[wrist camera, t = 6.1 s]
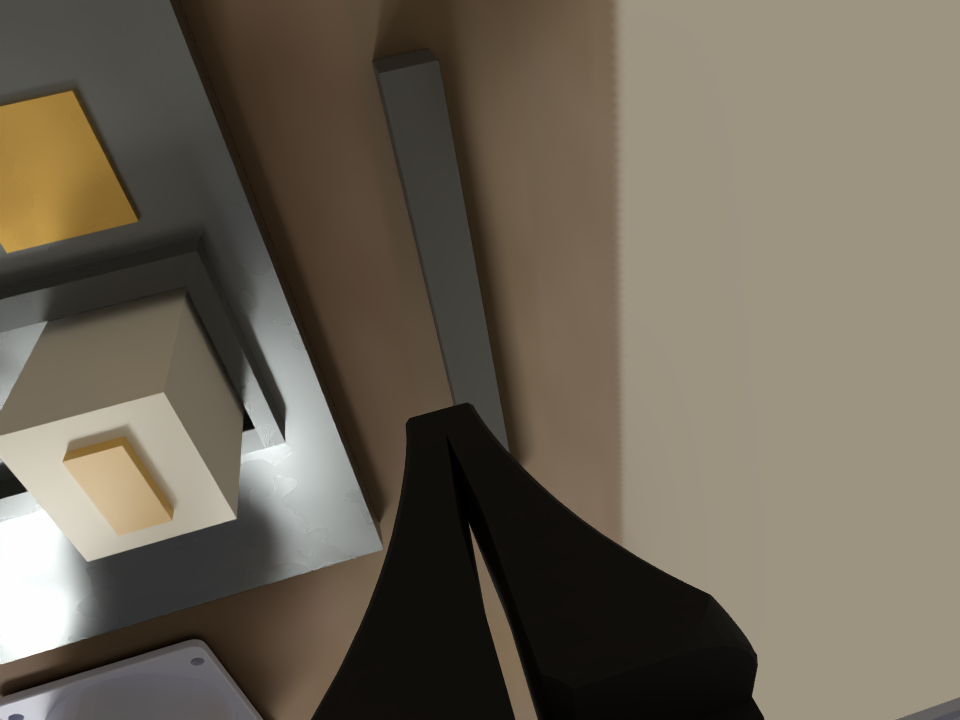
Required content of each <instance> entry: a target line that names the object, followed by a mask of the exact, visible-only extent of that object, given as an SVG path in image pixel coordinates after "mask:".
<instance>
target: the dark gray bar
mask: <svg viewBox="0 0 960 720" xmlns="http://www.w3.org/2000/svg"><path fill="white" fill-rule="evenodd" d="M372 62H373V66H374V71H375V75H376V79H377V83H378V87H379V92H380V96H381V100H382V104H383V108H384V113H385V117H386V121H387V125H388V130H389V134H390V138H391V142H392V146H393V151H394V155H395V159H396V163H397V167H398V172H399V176H400V180H401V184H402V188H403V193H404V197H405V201H406V205H407V210H408V214H409V218H410V222H411V226H412V231H413V235H414V239H415V243H416V247H417V252H418V256H419V260H420V264H421V268H422V273H423V277H424V281H425V285H426V290H427V294H428V298H429V302H430V306H431V311H432V315H433V319H434V323H435V327H436V332H437V336H438V340H439V344H440V348H441V353H442V357H443V361H444V365H445V370H446V374H447V378H448V382H449V386H450V391H451V395H452V399H453V403H454V406H455V405H459V404H462V403H466V402H468V403H470V404H472V405H474V407H475V409H476V411H477V413H478V414H479V416H480V417H481V419H482V420H483V421H484V423H485V424H486V426H487V427H488V428H489V430H490V431H491V432H492V433H493V435H494V436H495V437H496V438H497V439H498V441H499V442H500V443H501V444H502V445H503V447H504V448H505V449H506V450H507V451H508V452H509V447H508V441H507V436H506V430H505V424H504V419H503V413H502V408H501V402H500V397H499V391H498V386H497V380H496V375H495V369H494V364H493V358H492V353H491V347H490V341H489V336H488V330H487V325H486V319H485V314H484V308H483V303H482V297H481V292H480V286H479V281H478V275H477V270H476V264H475V258H474V253H473V247H472V242H471V236H470V231H469V225H468V220H467V214H466V209H465V203H464V198H463V192H462V187H461V181H460V175H459V170H458V164H457V159H456V153H455V148H454V142H453V137H452V131H451V126H450V120H449V115H448V109H447V104H446V98H445V92H444V87H443V81H442V76H441V70H440V65H439V60H438V59H437V58H436V57H435V55H434V54H433V53H432V52H431V51H430V50H429V49H428V48H426V49H421V50H417V51H413V52H408V53H404V54H399V55H395V56H390V57H386V58H382V59H377V60H373V61H372ZM509 453H510V452H509Z"/></svg>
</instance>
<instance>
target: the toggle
mask: <svg viewBox="0 0 960 720" xmlns="http://www.w3.org/2000/svg"><path fill="white" fill-rule="evenodd" d="M243 417H244V404H243V402H242V400H241V398H240V396H239V394H238V392H237V390H236V388H235V386H234V384H233V382H232V380H231V378H230V376H229V374H228V372H227V370H226V368H225V366H224V364H223V362H222V360H221V357H220V355H219V353H218V351H217V349H216V347H215V345H214V343H213V341H212V339H211V337H210V335H209V333H208V331H207V329H206V327H205V325H204V323H203V321H202V319H201V317H200V315H199V313H198V311H197V309H196V307H195V305H194V302H193V300H192V298H191V296H190V294H189V292H188V290H187V288H186V287H184V288H180V289H176V290H172V291H168V292H164V293H160V294H156V295H152V296H148V297H144V298H140V299H136V300H132V301H128V302H124V303H120V304H116V305H112V306H108V307H104V308H101V309H97V310H93V311H89V312H85V313H81V314H77V315H73V316H69V317H65V318H61V319H57V320H53V321H49V322H47V324H46V325H45V327H44V329H43V331H42V333H41V335H40V337H39V339H38V341H37V343H36V344H35V346H34V348H33V350H32V352H31V354H30V356H29V358H28V360H27V362H26V363H25V365H24V367H23V369H22V371H21V373H20V375H19V377H18V379H17V380H16V382H15V384H14V386H13V388H12V390H11V392H10V394H9V396H8V398H7V399H6V401H5V403H4V405H3V407H2V409H1V411H0V458H1V459H2V460H3V462H4V463H5V464H6V465H7V466H8V468H9V469H10V470H11V471H12V472H13V474H14V475H15V476H16V477H17V478H18V480H19V481H20V482H21V483H22V484H23V486H24V487H25V488H26V489H27V490H28V492H29V493H30V494H31V495H32V496H33V497H34V499H35V500H36V501H37V502H38V503H39V505H40V506H41V507H42V508H43V509H44V511H45V512H46V513H47V514H48V515H49V517H50V518H51V519H52V520H53V521H54V523H55V524H56V525H57V526H58V527H59V528H60V530H61V531H62V532H63V533H64V534H65V536H66V537H67V538H68V539H69V540H70V542H71V543H72V544H73V545H74V546H75V548H76V549H77V550H78V551H79V552H80V554H81V555H82V556H83V557H84V558H85V559H86V561H87V562H89V561H92V560H96V559H99V558H103V557H106V556H110V555H113V554H117V553H120V552H123V551H127V550H130V549H134V548H137V547H141V546H144V545H148V544H151V543H155V542H158V541H161V540H165V539H168V538H172V537H175V536H179V535H182V534H186V533H189V532H193V531H196V530H200V529H203V528H206V527H210V526H213V525H217V524H220V523H224V522H227V521H231V520H234V519H237V508H238V493H239V478H240V462H241V447H242V432H243Z"/></svg>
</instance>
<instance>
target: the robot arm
mask: <svg viewBox="0 0 960 720" xmlns="http://www.w3.org/2000/svg"><path fill="white" fill-rule="evenodd" d="M406 436H407V444H406V460H405V470H404V476H403V483H402V489H401V496H400V501H399V506H398V511H397V515H396V519H395V524H394V528H393V532H392V536H391V540H390V544H389V547H388V551H387V554H386V557H385V561H384V564H383V567H382V570H381V573H380V576H379V579H378V582H377V584H376V587H375V590H374V592H373V595H372V598H371V600H370V603H369V606H368V608H367V610H366V613H365V615H364V618H363V620H362V622H361V625H360V627H359V629H358V631H357V633H356V635H355V637H354V640H353V642H352V644H351V646H350V648H349V650H348V652H347V654H346V656H345V659H344V661H343V663H342V665H341V667H340V669H339V671H338V672H337V674H336V676H335V678H334V680H333V682H332V683H331V685H330V687H329V689H328V690H327V692H326V694H325V696H324V698H323V699H322V701H321V703H320V705H319V706H318V708H317V710H316V712H315V713H314V715H313V717H312V719H311V720H515V717H514V713H513V710H512V706H511V703H510V699H509V695H508V692H507V688H506V685H505V681H504V678H503V674H502V671H501V667H500V664H499V660H498V657H497V653H496V650H495V646H494V643H493V639H492V636H491V632H490V629H489V625H488V622H487V618H486V615H485V609H484V604H483V599H482V593H481V588H480V582H479V577H478V571H477V566H476V560H475V555H474V549H473V544H472V538H471V533H470V528H469V524H470V527H471V529H472V532H473V534H474V537H475V539H476V542H477V544H478V547H479V549H480V552H481V554H482V557H483V559H484V562H485V564H486V567H487V569H488V572H489V574H490V577H491V579H492V582H493V584H494V587H495V589H496V592H497V594H498V596H499V599H500V601H501V604H502V606H503V609H504V611H505V614H506V617H507V620H508V623H509V625H510V628H511V631H512V634H513V638H514V641H515V644H516V648H517V651H518V654H519V658H520V661H521V664H522V668H523V671H524V675H525V678H526V681H527V685H528V688H529V691H530V695H531V698H532V701H533V705H534V708H535V712H536V715H537V718H538V720H764V717H763V715H762V713H761V712H760V710H759V708H758V706H757V705H756V703H755V701H754V700H753V698H752V692H753V687H754V681H755V677H756V672H757V667H758V663H757V654H756V653H755V652H754V650H753V648H752V646H751V644H750V642H749V641H748V639H747V637H746V636H745V635H744V633H743V632H742V631H741V629H740V628H739V627H738V626H737V624H736V623H735V622H734V621H733V619H732V618H731V617H730V616H729V614H728V613H727V612H726V611H725V610H724V609H723V608H722V606H721V605H720V604H719V603H718V602H717V601H716V600H715V599H714V598H713V597H712V596H711V595H710V594H708V593H706V592H704V591H701V590H699V589H697V588H695V587H693V586H691V585H689V584H687V583H684V582H683V581H681V580H679V579H677V578H675V577H673V576H671V575H669V574H667V573H665V572H664V571H662V570H660V569H658V568H656V567H655V566H653V565H651V564H649V563H648V562H646V561H644V560H642V559H641V558H639V557H637V556H636V555H634V554H633V553H631V552H629V551H628V550H626V549H625V548H623V547H622V546H620V545H618V544H617V543H615V542H614V541H612V540H611V539H609V538H608V537H606V536H604V535H603V534H601V533H600V532H599V531H597V530H596V529H594V528H593V527H592V526H590V525H589V524H588V523H586V522H585V521H583V520H582V519H581V518H579V517H578V516H577V515H576V514H574V513H573V512H572V511H571V510H569V509H568V508H567V507H566V506H564V505H563V504H562V503H561V502H560V501H558V500H557V499H556V498H555V497H554V496H553V495H551V494H550V493H549V492H548V491H547V490H546V489H545V488H544V487H543V486H542V485H540V484H539V483H538V482H537V481H536V480H535V479H534V478H533V477H532V476H531V475H530V474H529V473H528V472H527V471H526V470H525V469H524V468H523V467H522V466H521V465H520V464H519V463H518V462H517V461H516V460H515V459H514V457H513V456H512V455H511V454H510V453H509V452H508V451H507V450H506V449H505V448H504V447H503V445H502V444H501V443H500V442H499V441H498V439H497V438H496V437H495V436H494V435H493V433H492V432H491V431H490V430H489V428H488V427H487V426H486V424H485V423H484V421H483V420H482V419H481V417H480V416H479V414H478V413H477V411H476V409H475V407H474V405H472V404H470V403H468V402H466V403H462V404H459V405H455V406H452V407H448V408H445V409H441V410H437V411H434V412H430V413H427V414H423V415H420V416H416V417H412V418H410V419H409V420H408V421H407V423H406ZM0 719H2V720H263V719H262V717H261V716H260V715H259V713H258V712H257V711H256V709H255V708H254V707H253V705H252V704H251V703H250V701H249V700H248V699H247V697H246V696H245V695H244V693H243V692H242V691H241V689H240V688H239V687H238V685H237V684H236V683H235V682H234V680H233V679H232V678H231V676H230V675H229V674H228V672H227V671H226V670H225V668H224V667H223V666H222V664H221V663H220V662H219V660H218V659H217V658H216V656H215V655H214V654H213V652H212V651H211V650H210V648H209V647H208V646H207V644H206V643H205V642H203V641H202V640H198V639H192V640H187V641H184V642H181V643H177V644H174V645H171V646H168V647H164V648H161V649H158V650H155V651H151V652H148V653H145V654H141V655H138V656H135V657H132V658H128V659H125V660H122V661H118V662H115V663H112V664H109V665H105V666H102V667H99V668H96V669H92V670H89V671H86V672H82V673H79V674H76V675H73V676H69V677H66V678H63V679H59V680H56V681H53V682H50V683H46V684H43V685H40V686H37V687H33V688H30V689H27V690H23V691H20V692H17V693H14V694H10V695H7V696H4V697H2V698H0ZM897 720H960V698H957V699H954V700H951V701H948V702H946V703H943V704H940V705H937V706H934V707H931V708H928V709H925V710H923V711H920V712H917V713H914V714H911V715H908V716H905V717H903V718H900V719H897Z"/></svg>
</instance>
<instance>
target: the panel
mask: <svg viewBox="0 0 960 720" xmlns="http://www.w3.org/2000/svg"><path fill="white" fill-rule="evenodd" d="M184 287H186V288H187V290H188V292H189V294H190V296H191V298H192V300H193V302H194V305H195V307H196V309H197V311H198V313H199V315H200V317H201V319H202V321H203V323H204V325H205V327H206V329H207V331H208V333H209V335H210V337H211V339H212V341H213V343H214V345H215V347H216V349H217V351H218V353H219V355H220V357H221V360H222V362H223V364H224V366H225V368H226V370H227V372H228V374H229V376H230V378H231V380H232V382H233V384H234V386H235V388H236V390H237V392H238V394H239V396H240V398H241V400H242V402H243V404H244V417H243V432H242V447H241V462H240V478H239V493H238V508H237V519H234V520H231V521H227V522H224V523H220V524H217V525H213V526H210V527H206V528H203V529H200V530H196V531H193V532H189V533H186V534H182V535H179V536H175V537H172V538H168V539H165V540H161V541H158V542H155V543H151V544H148V545H144V546H141V547H137V548H134V549H130V550H127V551H123V552H120V553H117V554H113V555H110V556H106V557H103V558H99V559H96V560H92V561H89V562H87V561H86V559H85V558H84V557H83V556H82V555H81V554H80V552H79V551H78V550H77V549H76V548H75V546H74V545H73V544H72V543H71V542H70V540H69V539H68V538H67V537H66V536H65V534H64V533H63V532H62V531H61V530H60V528H59V527H58V526H57V525H56V524H55V523H54V521H53V520H52V519H51V518H50V517H49V515H48V514H47V513H46V512H45V511H44V509H43V508H42V507H41V506H40V505H39V503H38V502H37V501H36V500H35V499H34V497H33V496H32V495H31V494H30V493H29V492H28V490H27V489H26V488H25V487H24V486H23V484H22V483H21V482H20V481H19V480H18V478H17V477H16V476H15V475H14V474H13V472H12V471H11V470H10V469H9V468H8V466H7V465H6V464H5V463H4V462H3V460H2V459H1V458H0V664H3V663H7V662H10V661H13V660H17V659H20V658H23V657H27V656H30V655H33V654H37V653H40V652H43V651H47V650H50V649H53V648H57V647H60V646H63V645H67V644H70V643H73V642H77V641H80V640H83V639H87V638H90V637H93V636H97V635H100V634H103V633H107V632H110V631H113V630H117V629H120V628H123V627H127V626H130V625H133V624H137V623H140V622H143V621H146V620H150V619H153V618H156V617H160V616H163V615H166V614H170V613H173V612H176V611H180V610H183V609H186V608H190V607H193V606H196V605H200V604H203V603H206V602H210V601H213V600H216V599H220V598H223V597H226V596H230V595H233V594H236V593H240V592H243V591H246V590H250V589H253V588H256V587H260V586H263V585H266V584H270V583H273V582H276V581H280V580H283V579H286V578H290V577H293V576H296V575H300V574H303V573H306V572H310V571H313V570H316V569H320V568H323V567H326V566H330V565H333V564H336V563H340V562H343V561H346V560H350V559H353V558H356V557H360V556H363V555H366V554H370V553H373V552H376V551H380V550H383V549H384V548H383V542H382V536H381V529H380V524H379V521H378V519H377V516H376V513H375V511H374V508H373V505H372V503H371V500H370V498H369V495H368V492H367V490H366V487H365V485H364V482H363V479H362V477H361V474H360V471H359V469H358V466H357V464H356V461H355V458H354V456H353V453H352V451H351V448H350V445H349V443H348V440H347V437H346V435H345V432H344V430H343V427H342V424H341V422H340V419H339V417H338V414H337V411H336V409H335V406H334V403H333V401H332V398H331V396H330V393H329V390H328V388H327V385H326V382H325V380H324V377H323V375H322V372H321V369H320V367H319V364H318V362H317V359H316V356H315V354H314V351H313V348H312V346H311V343H310V341H309V338H308V335H307V333H306V330H305V328H304V325H303V322H302V320H301V317H300V314H299V312H298V309H297V307H296V304H295V301H294V299H293V296H292V294H291V291H290V288H289V286H288V283H287V280H286V278H285V275H284V273H283V270H282V267H281V265H280V262H279V259H278V257H277V254H276V252H275V249H274V246H273V244H272V241H271V239H270V236H269V233H268V231H267V228H266V225H265V223H264V220H263V218H262V215H261V212H260V210H259V207H258V205H257V202H256V199H255V197H254V194H253V191H252V189H251V186H250V184H249V181H248V178H247V176H246V173H245V171H244V168H243V165H242V163H241V160H240V157H239V155H238V152H237V150H236V147H235V144H234V142H233V139H232V136H231V134H230V131H229V129H228V126H227V123H226V121H225V118H224V116H223V113H222V110H221V108H220V105H219V102H218V100H217V97H216V95H215V92H214V89H213V87H212V84H211V82H210V79H209V76H208V74H207V71H206V68H205V66H204V63H203V61H202V58H201V55H200V53H199V50H198V48H197V45H196V42H195V40H194V37H193V34H192V32H191V29H190V27H189V24H188V21H187V19H186V16H185V13H184V11H183V8H182V6H181V3H180V0H0V411H1V409H2V407H3V405H4V403H5V401H6V399H7V398H8V396H9V394H10V392H11V390H12V388H13V386H14V384H15V382H16V380H17V379H18V377H19V375H20V373H21V371H22V369H23V367H24V365H25V363H26V362H27V360H28V358H29V356H30V354H31V352H32V350H33V348H34V346H35V344H36V343H37V341H38V339H39V337H40V335H41V333H42V331H43V329H44V327H45V325H46V324H47V322H49V321H53V320H57V319H61V318H65V317H69V316H73V315H77V314H81V313H85V312H89V311H93V310H97V309H101V308H104V307H108V306H112V305H116V304H120V303H124V302H128V301H132V300H136V299H140V298H144V297H148V296H152V295H156V294H160V293H164V292H168V291H172V290H176V289H180V288H184Z"/></svg>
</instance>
